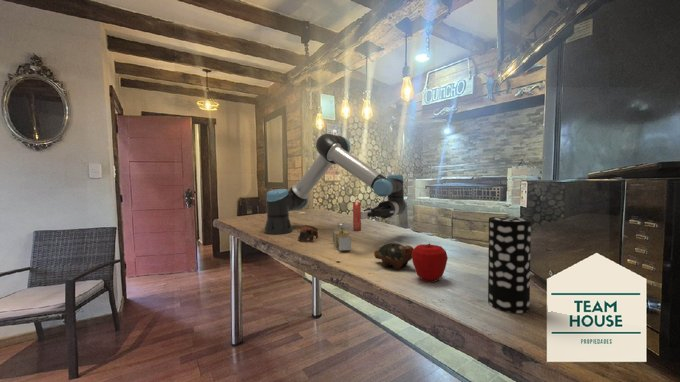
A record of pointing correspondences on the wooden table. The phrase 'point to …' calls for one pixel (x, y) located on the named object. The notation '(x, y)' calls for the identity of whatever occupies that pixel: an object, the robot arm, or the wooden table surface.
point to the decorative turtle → (394, 255)
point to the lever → (354, 218)
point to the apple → (429, 261)
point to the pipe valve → (341, 240)
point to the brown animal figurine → (308, 233)
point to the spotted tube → (509, 264)
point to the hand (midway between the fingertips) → (361, 215)
